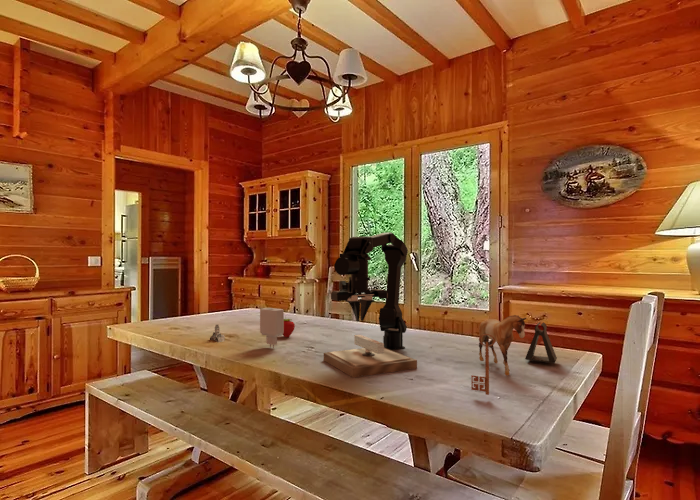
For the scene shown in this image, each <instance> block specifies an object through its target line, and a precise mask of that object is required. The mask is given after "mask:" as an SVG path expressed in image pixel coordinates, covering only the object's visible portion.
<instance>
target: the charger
mask: <svg viewBox="0 0 700 500" xmlns="http://www.w3.org/2000/svg"><path fill="white" fill-rule="evenodd" d="M284 312H285V311H284V309H283V308H273V307H264V308H263V307H262V308H260V309H259V333H260V334H261V335H262V336H266V341H265V342H266V344H268V345H269V348H270V349H271V348H272V349H275V346H276V345H278V337H282V336H283V333H284V319H285V318H284V317H285V313H284Z"/></svg>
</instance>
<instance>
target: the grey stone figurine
mask: <svg viewBox="0 0 700 500" xmlns="http://www.w3.org/2000/svg"><path fill="white" fill-rule="evenodd" d="M220 329H221V328H220V325H219V324H215V326H214V332H213V333H212V334H211V336H210V338H209V340H211V341H214V342H218V343H221V342H225V341H226V340H225V339H226V336H225V334H222V333H221V332H220Z"/></svg>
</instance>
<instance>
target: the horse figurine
mask: <svg viewBox="0 0 700 500" xmlns="http://www.w3.org/2000/svg"><path fill="white" fill-rule="evenodd" d="M526 319H527V317H524V318H523V317H521V316H519V315H516V314H512V315H509V316H506V318H504V319H502V320H501V321H500V320H499V319H496V318H487V319H484V320H482V321H481V322H480V323H479V328H478V333H479V337H480V336H481V335H483V334H490V335H492V336H493V337H494V338H495V343H497V346H498V347H499V350H500V352H501V354H502V357H503V362H502V363H503V365H504V374H505V376H510V366H509V363H508V350H509V348H510V346H511V343H512V342H513V340H514V333H513V330H514V331H516V333H517V334H518V336H519V338H520V339H523V338H524V337H525V336H526V333H525V327H526V322H525V320H526ZM489 340H490V341H489ZM481 342H482V343H483V344H486V342H488V345H491V344H493V342H494V340H493V338H492V337H491V336H489V335H484V336H482V337H481ZM483 346H484V345H482V344H481V343H480V342H479V343H478V347H479V353H478V355H479V358H478V359H479V361H480V362H485V359H484V356H483V353H482V350H483V349H482V348H483ZM488 348H489V349H490V350H491V351H492V355H493V357H494V358H493V362H494V364H498V357H497V353H496V350H495V348H494V345H492V346H488Z"/></svg>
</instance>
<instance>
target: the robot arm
mask: <svg viewBox="0 0 700 500" xmlns="http://www.w3.org/2000/svg"><path fill="white" fill-rule="evenodd" d="M380 246H381V248H380V250H381V252H383V254H384V260H385V262H386V264H387V267H388V268H387V269H388V270H387V279H386V289H381V288H378V289H377V288H373V289H369V281H371V277H369V261H371V260H372V257H371V256H370V255H369V253H371V252H373V251H374V248H377V247H380ZM407 255H408V247H407V245H406V244H405V242H404V241H403V240H401V239H400V238H398V237H397V236H396V235H395V233H394V232H390V231H389V232H381V233H378V234H374V235H370V236H366V235H365V236H351V237H349V238H348V241H347V243H346V245H345V248H344V250H343V252H342V253H339V257H338V258H337V259H336V260H335V263H334V265H333V266H334V270H335V271H334V272H335V273H337V274H338V275H339V276H349V275H350V276H349V278H348V282H347V281H346V280H340V281H339V282H338V290H333V291H332V292H331V293H330V300H331V301H332V300H333V301H336V302H346V303H348V304H349V305H350V307H351V310H352V313H353V315H354V317H355V320H356V322H360V321H361V322H363V321H365V317H366V315H367V313H368V311H369V309H370V307H371V305H372V303H374V302H375V300H374V299H373V298H379V299H382V300H383V299H385V304H384V305H383V307H379V308H380V309H379V315H378V323H379V328H380V332H383V334H384V335H383V338H382V341H383V342H382V343H384V348H387V349H389V350H392V351H394V350H401V349H406V346H403V345H404V344H403V343H404V341H403V340H404V338H403V337H404V336H403V334H405V333H406V332H407V324H406V322H405V321H404V318H403V312H402V309H401V307H400V305H399V302H400V290H401V289H400V288H401V276H402V267H403V265H404V264H405V263H406V261H407ZM358 299H359V300H358Z"/></svg>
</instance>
